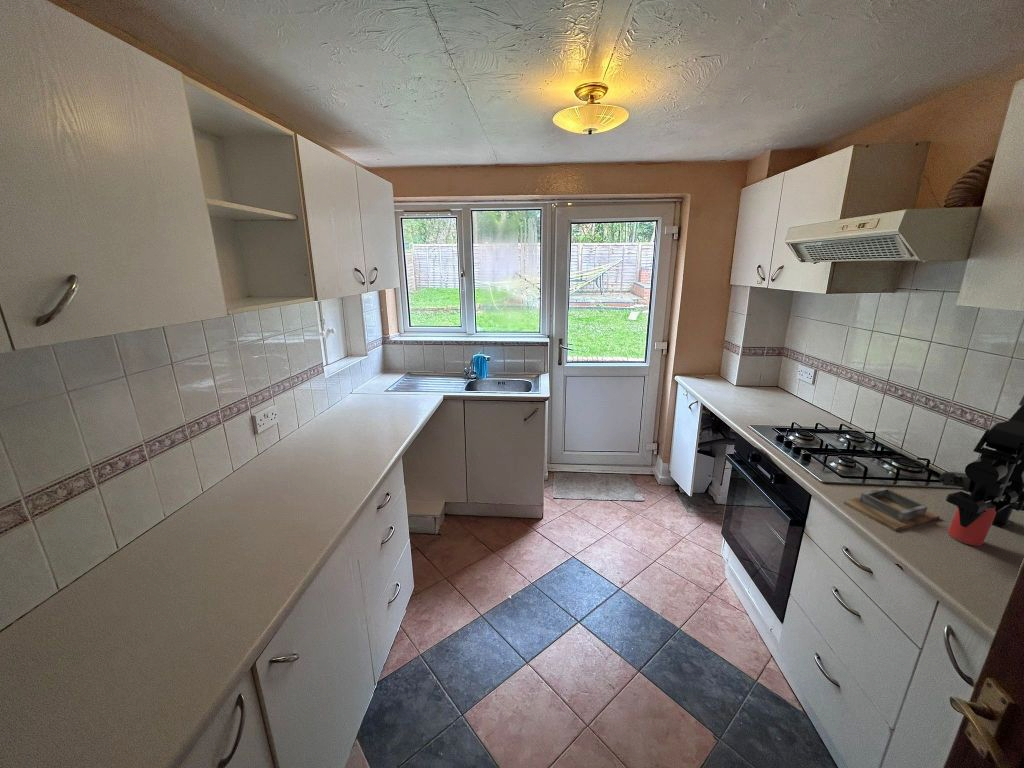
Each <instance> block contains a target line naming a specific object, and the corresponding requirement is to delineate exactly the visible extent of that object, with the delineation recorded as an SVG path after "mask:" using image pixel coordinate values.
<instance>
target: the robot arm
mask: <svg viewBox="0 0 1024 768" xmlns="http://www.w3.org/2000/svg"><path fill="white" fill-rule="evenodd" d="M1018 405H1019V408H1018V409H1017V410H1016V411H1015V413H1014V414H1012V416H1011V417H1010V418H1009V419H1008V420H1006V421H1003V422H998V423H996V424H994V426H992V427H991V428H990V429H986V431H985V432H984V433H983V435H982V437H981V438H980V440H979V441H978V442H977V444H976V446H975V447H974V449H973V452H974V453H978V454H980V456H979V458H978V459H975V460H974V461H972V462H970V463H968V464H967V465H966V466H965V469H964V473H963V472H956V471H945V472H943V473H941V474H940V475H939V477H938V481H940V482H941V484H942V486H946V487H947V486H950V487H957V488H961V490H962V491H961V490H960V491H955V492H952V493H948V494H947V495H946V498H945V501H946V502H947V503H949V504H952V505H953V506H956V507H957V509H958V508H959V516H960V525H961V526H963V527H967V526H968V525H970V524H971V523H973V522H974V521H975V520H976V519H978V518H979V517H980V516H982V515H983V514H984V513H986V512H987V511H985V509H986V507H987V504H986V502H990V503H992V504H994V505H995V507H996V508H995V511H996V516H995V518H994V520H993V522H992V525H995V526H996V527H999V528H1004V527H1006V526H1007V527H1008V526H1010V525H1013V524H1014V521H1012V520H1010V517H1011V515H1012V513H1013V512H1014V510H1016V512H1021V511H1023V512H1024V394H1023V396H1022V397H1021V399H1020V401H1019V403H1018ZM966 492H967V493H966Z"/></svg>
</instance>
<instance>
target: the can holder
mask: <svg viewBox="0 0 1024 768" xmlns="http://www.w3.org/2000/svg"><path fill="white" fill-rule="evenodd" d="M860 494H861V495H860V496H859V497H855V498H851V499H847V500H846V499H845V500H844V501H843V505H845V506H847V507H849V508H851V509H853V510H855V511H856V512H857V513H860V514H862V515H864V516H866V517H868V518H870V519H872V520H873V521H875V522H877V523H879V524H881V525H883V526H885V527H886V528H888V529H890V530H892V531H894V532H897V531H900V530H901V531H902V530H904V529H908V528H911V527H914V526H917V525H922V524H925V523H928V522H932V521H935V520H939V519H940V517H941V515H939V514H937V513H935V512H933V511H931V510H929V509H928V508H929V507H928V506H926V505H924V504H922V503H920V502H918V501H915V500H913V499H912V498H909V497H907V496H905V495H902V494H901V493H898V492H895V491H894V490H891V489H889V488H887V487H881V488H878V489H872V490H869V491H865V492H864V491H863V492H861V493H860Z"/></svg>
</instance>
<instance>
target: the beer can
mask: <svg viewBox="0 0 1024 768" xmlns="http://www.w3.org/2000/svg"><path fill="white" fill-rule="evenodd" d="M986 504H987V507H986V509H985V511H987V512H986V513H984V514H983V515H982V516H980V517H979V518H978V519H976V520H975V521H974V522H973V523H971V524H970V525H968V526H967V527H963V526H961V525H960V516H959V508H958V507H957V508H956V511H955V513H954V516H953V518H952V521H951V523H950V525H949V528H948V534H949V536H950V537H951V538H953V539H955V540H956V541H958V542H960V543H962V544H966V545H969V546H974V547H975V546H976V547H978V546H982V545H984V542H985V540H986V537H987V535H988V533H989V531H990V529H991V526H992V525H993V524H992V522H993V520H994V518H995V516H996V511H995V508H996V507H995V505H994V504H992V503H990V502H986Z"/></svg>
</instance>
